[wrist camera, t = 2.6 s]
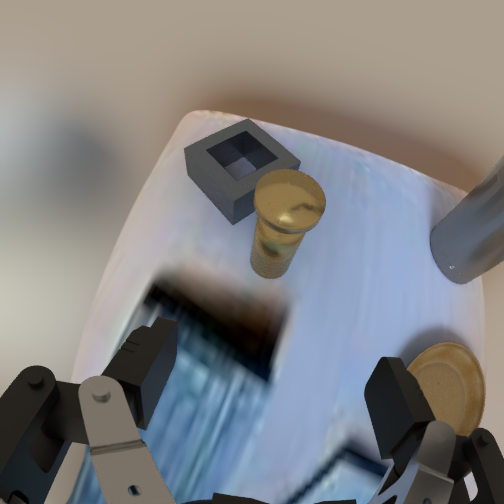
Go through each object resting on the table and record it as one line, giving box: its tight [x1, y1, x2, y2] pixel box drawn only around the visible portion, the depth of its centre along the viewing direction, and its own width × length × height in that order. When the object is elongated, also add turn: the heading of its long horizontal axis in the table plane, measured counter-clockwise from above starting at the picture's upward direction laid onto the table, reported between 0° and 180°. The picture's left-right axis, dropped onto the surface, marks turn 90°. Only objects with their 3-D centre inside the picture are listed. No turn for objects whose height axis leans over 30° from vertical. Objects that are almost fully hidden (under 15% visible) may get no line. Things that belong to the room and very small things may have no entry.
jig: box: [184, 119, 301, 225], centre depth 32 cm, size 9×9×4 cm
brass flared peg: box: [250, 169, 326, 279], centre depth 25 cm, size 5×5×11 cm
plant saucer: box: [406, 342, 486, 437], centre depth 22 cm, size 15×15×3 cm
